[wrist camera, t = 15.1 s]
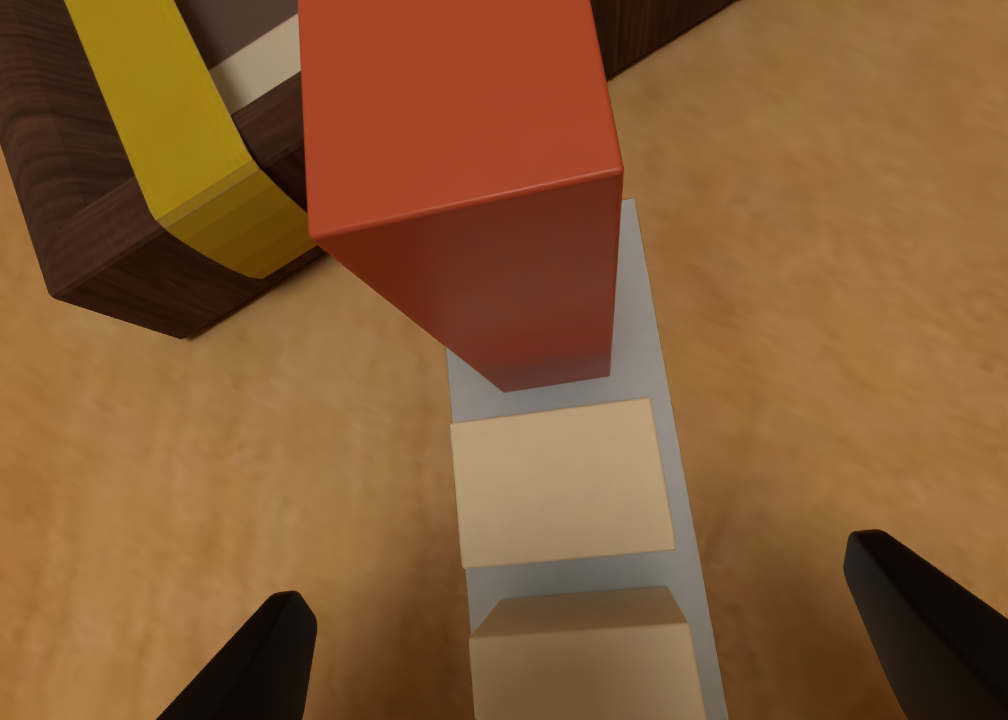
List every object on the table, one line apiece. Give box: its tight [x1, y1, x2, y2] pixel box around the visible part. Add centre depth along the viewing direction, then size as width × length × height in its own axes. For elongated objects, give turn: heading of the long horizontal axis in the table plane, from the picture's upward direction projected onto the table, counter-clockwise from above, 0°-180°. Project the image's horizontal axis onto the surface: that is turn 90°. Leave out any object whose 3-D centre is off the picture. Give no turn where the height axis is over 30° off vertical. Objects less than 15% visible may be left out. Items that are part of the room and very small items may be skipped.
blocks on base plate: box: [446, 198, 729, 720], centre depth 15 cm, size 16×7×4 cm, turn 6°
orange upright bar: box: [298, 0, 624, 393], centre depth 12 cm, size 5×4×12 cm
